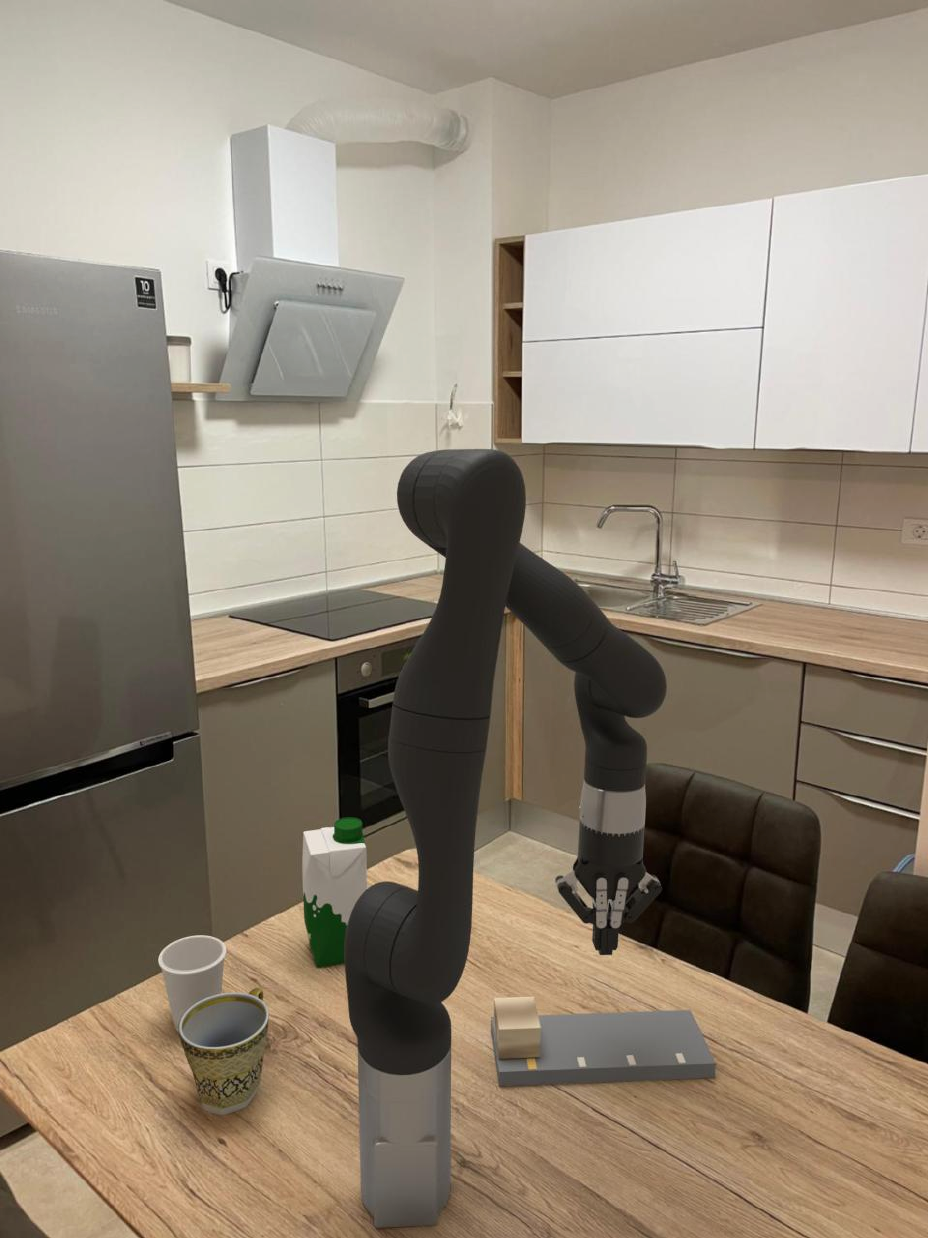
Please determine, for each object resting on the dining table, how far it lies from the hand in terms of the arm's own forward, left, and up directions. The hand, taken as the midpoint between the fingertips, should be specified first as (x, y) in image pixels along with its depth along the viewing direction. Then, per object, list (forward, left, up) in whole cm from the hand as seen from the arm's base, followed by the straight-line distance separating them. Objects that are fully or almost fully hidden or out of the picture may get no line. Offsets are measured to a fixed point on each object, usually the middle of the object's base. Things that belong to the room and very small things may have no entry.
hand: (604, 951), depth 111 cm
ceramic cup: (-3, +44, -15) cm, 46 cm away
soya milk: (+24, +34, -15) cm, 44 cm away
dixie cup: (+9, +51, -15) cm, 54 cm away
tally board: (0, 0, -14) cm, 14 cm away
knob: (0, +10, -12) cm, 16 cm away
